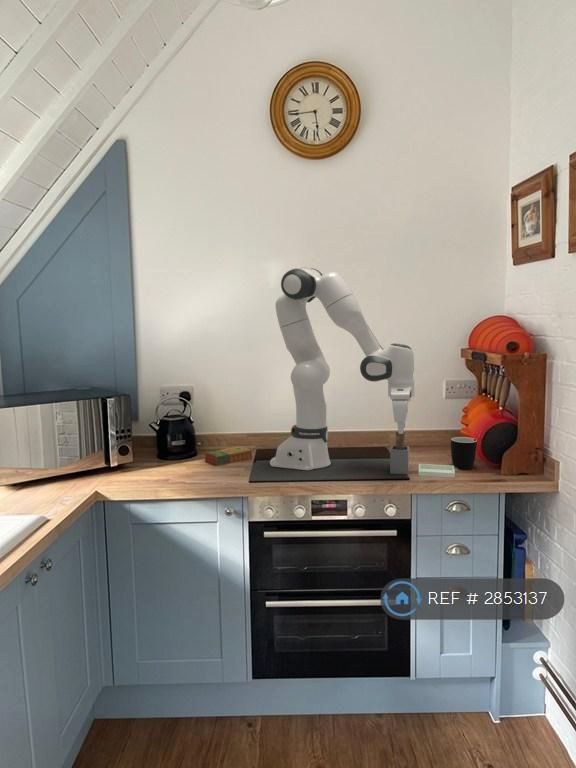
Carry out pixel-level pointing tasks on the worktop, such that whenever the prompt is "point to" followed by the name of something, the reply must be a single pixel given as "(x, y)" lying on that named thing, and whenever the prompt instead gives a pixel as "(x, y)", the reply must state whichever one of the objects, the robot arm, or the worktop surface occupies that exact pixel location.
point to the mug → (463, 452)
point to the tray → (436, 470)
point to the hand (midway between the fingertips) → (401, 430)
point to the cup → (399, 460)
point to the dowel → (400, 441)
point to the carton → (228, 455)
